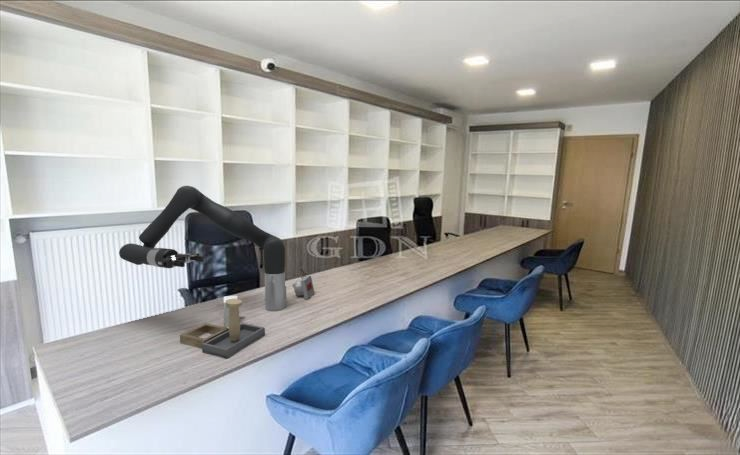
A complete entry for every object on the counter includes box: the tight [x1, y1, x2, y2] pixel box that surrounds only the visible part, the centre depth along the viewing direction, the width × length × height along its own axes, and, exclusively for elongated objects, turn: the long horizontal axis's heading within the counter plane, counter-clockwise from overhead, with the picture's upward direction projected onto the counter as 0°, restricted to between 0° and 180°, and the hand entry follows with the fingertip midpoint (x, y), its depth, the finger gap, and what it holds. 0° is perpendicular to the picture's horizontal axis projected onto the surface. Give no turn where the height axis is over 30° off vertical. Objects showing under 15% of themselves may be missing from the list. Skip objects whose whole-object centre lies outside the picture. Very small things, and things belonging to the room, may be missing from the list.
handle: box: [226, 298, 243, 342], centre depth 130 cm, size 5×6×15 cm
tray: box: [201, 322, 266, 359], centre depth 131 cm, size 20×11×3 cm, turn 158°
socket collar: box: [179, 322, 229, 349], centre depth 134 cm, size 12×12×3 cm
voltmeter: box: [292, 268, 315, 300], centre depth 191 cm, size 27×11×10 cm, turn 24°
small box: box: [222, 295, 239, 328], centre depth 149 cm, size 8×6×10 cm
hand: (193, 261), depth 134 cm, fingers open, 8 cm apart
